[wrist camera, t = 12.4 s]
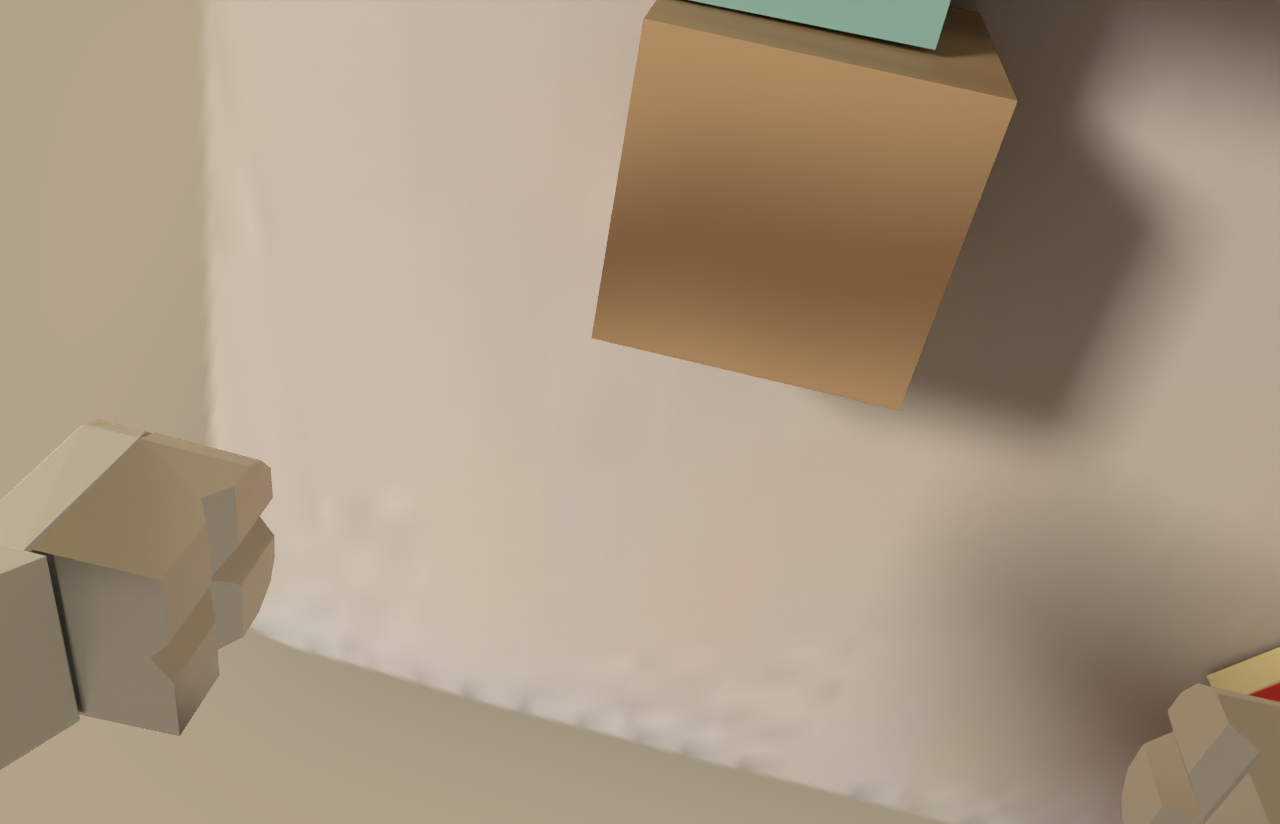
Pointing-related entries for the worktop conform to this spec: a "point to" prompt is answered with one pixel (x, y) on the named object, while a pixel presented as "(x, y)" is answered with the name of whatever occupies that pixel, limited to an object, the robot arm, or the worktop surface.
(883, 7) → the bar
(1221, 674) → the milk carton
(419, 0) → the worktop surface
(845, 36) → the cube
